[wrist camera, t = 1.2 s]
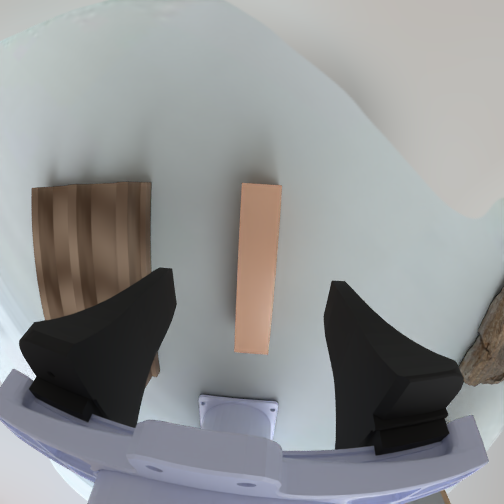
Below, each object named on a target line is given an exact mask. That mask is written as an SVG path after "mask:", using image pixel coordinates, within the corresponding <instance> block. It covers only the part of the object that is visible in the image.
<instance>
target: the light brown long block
mask: <svg viewBox="0 0 504 504" xmlns="http://www.w3.org/2000/svg"><path fill="white" fill-rule="evenodd" d="M281 192H282V185H268V184H251V183H242V191H241V209H240V229H239V249H238V271H237V294H236V319H235V346H234V352H240V353H252V354H267V355H268V351H269V341H270V330H271V320H272V309H273V298H274V286H275V274H276V262H277V249H278V236H279V222H280V207H281Z"/></svg>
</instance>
